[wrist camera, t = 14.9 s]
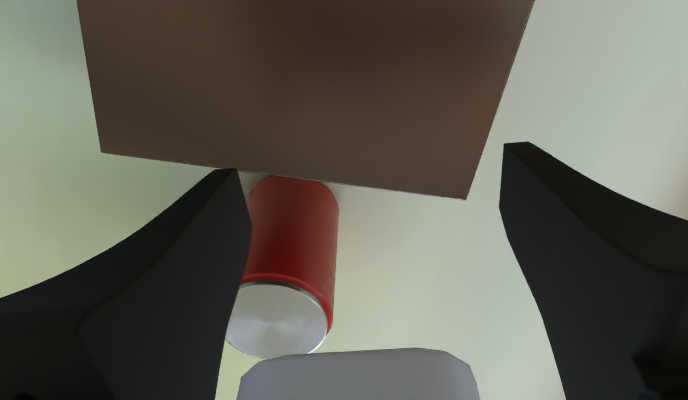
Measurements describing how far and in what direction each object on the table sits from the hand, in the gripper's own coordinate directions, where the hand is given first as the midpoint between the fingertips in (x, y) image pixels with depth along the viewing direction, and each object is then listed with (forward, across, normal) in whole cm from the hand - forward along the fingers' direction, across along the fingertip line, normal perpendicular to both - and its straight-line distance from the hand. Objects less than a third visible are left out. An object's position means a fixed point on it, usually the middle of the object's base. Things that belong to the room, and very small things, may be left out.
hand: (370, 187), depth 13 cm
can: (+10, +5, +8) cm, 14 cm away
